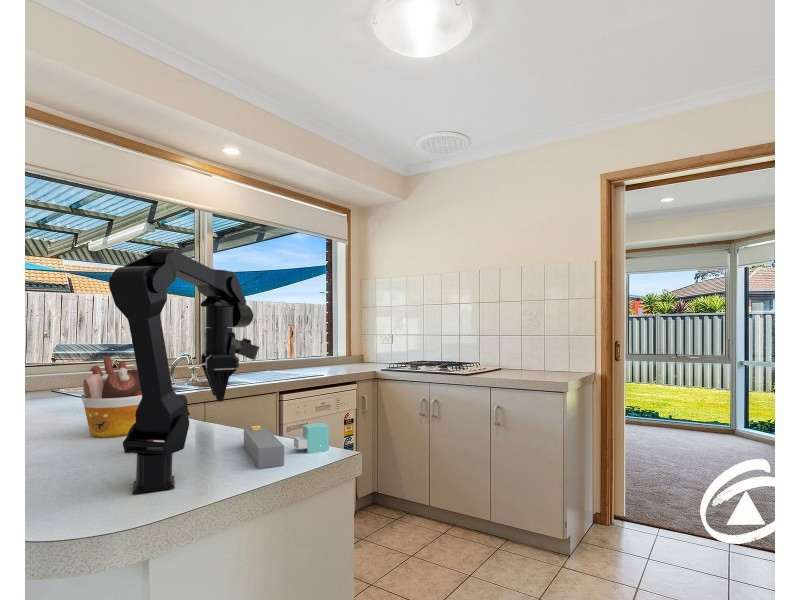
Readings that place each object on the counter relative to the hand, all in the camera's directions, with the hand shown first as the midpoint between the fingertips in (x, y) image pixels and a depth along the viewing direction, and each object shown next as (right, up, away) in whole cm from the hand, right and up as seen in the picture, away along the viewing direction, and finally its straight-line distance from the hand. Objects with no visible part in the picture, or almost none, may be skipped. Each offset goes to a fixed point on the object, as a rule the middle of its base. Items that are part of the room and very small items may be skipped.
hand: (218, 398), depth 104 cm
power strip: (+9, -13, +2) cm, 16 cm away
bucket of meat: (-36, -14, +22) cm, 44 cm away
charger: (+20, -13, +4) cm, 24 cm away
